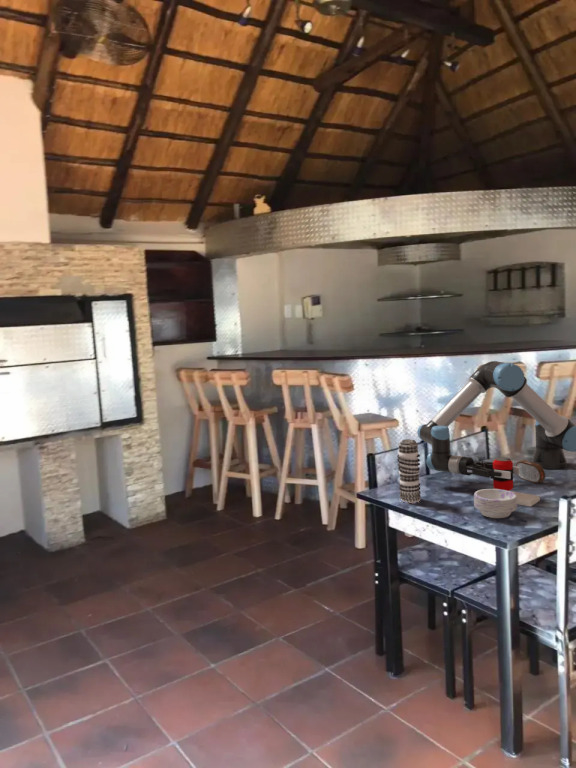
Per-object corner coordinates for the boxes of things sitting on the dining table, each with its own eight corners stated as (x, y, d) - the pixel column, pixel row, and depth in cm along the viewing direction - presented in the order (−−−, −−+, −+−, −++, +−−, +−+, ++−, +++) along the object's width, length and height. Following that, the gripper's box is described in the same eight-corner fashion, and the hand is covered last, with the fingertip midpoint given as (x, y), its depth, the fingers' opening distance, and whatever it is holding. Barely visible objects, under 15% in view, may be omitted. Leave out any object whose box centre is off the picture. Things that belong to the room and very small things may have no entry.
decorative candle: (409, 495, 256) (407, 437, 253) (426, 500, 249) (424, 440, 246) (394, 500, 251) (391, 440, 248) (410, 505, 244) (408, 444, 241)
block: (498, 496, 243) (530, 501, 234) (508, 490, 249) (539, 495, 240) (498, 501, 243) (530, 507, 234) (508, 496, 249) (540, 501, 240)
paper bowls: (523, 512, 228) (523, 491, 227) (507, 524, 217) (507, 502, 216) (484, 505, 238) (484, 485, 237) (467, 516, 227) (466, 496, 226)
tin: (545, 484, 260) (545, 465, 259) (540, 485, 259) (539, 466, 258) (520, 476, 274) (520, 458, 273) (514, 477, 273) (514, 459, 272)
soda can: (514, 491, 241) (514, 461, 240) (494, 491, 243) (494, 461, 241) (511, 485, 248) (511, 456, 247) (492, 485, 250) (491, 457, 249)
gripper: (473, 468, 265) (525, 476, 249) (449, 479, 250) (503, 488, 234) (473, 451, 264) (525, 458, 248) (449, 461, 249) (503, 469, 234)
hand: (514, 473), depth 241 cm, fingers closed on soda can, 7 cm apart
